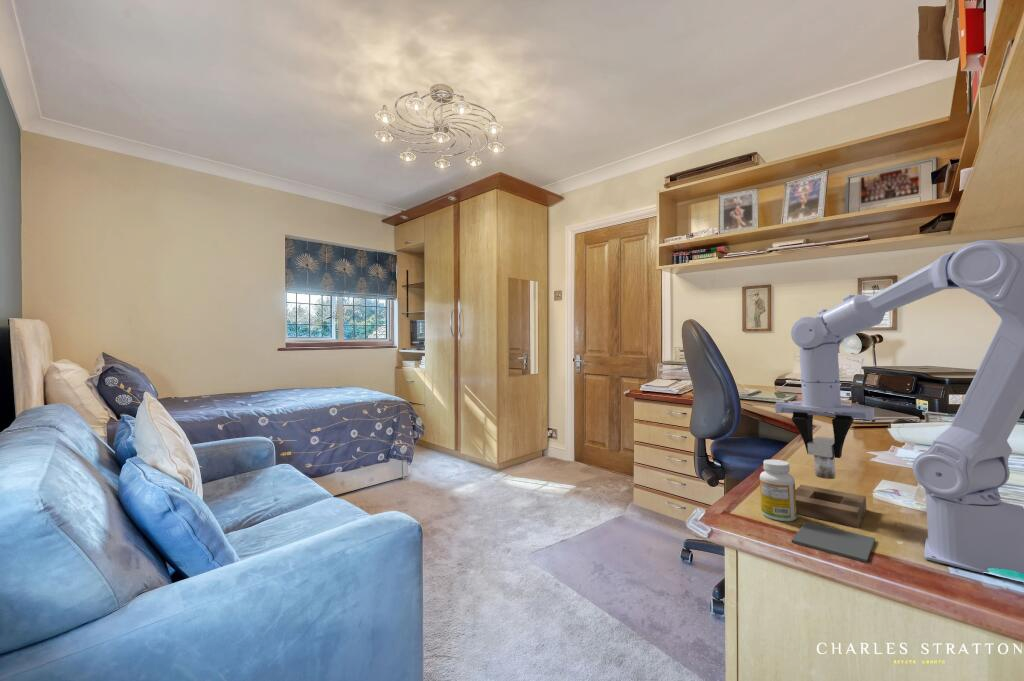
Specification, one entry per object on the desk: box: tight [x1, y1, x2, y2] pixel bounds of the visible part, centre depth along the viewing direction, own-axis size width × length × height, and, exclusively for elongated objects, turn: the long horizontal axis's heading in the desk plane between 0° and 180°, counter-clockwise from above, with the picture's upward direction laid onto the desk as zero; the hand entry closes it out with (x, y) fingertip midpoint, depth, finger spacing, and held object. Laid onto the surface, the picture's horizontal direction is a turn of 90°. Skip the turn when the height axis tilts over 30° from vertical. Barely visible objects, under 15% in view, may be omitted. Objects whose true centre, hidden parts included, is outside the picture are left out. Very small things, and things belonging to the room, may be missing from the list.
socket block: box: [795, 484, 867, 528], centre depth 76 cm, size 10×10×2 cm
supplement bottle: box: [759, 458, 798, 522], centre depth 74 cm, size 5×5×10 cm
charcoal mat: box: [791, 521, 876, 563], centre depth 64 cm, size 9×9×1 cm
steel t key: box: [807, 436, 837, 480], centre depth 76 cm, size 7×4×6 cm, turn 133°
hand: (824, 455), depth 76 cm, fingers closed on steel t key, 3 cm apart
